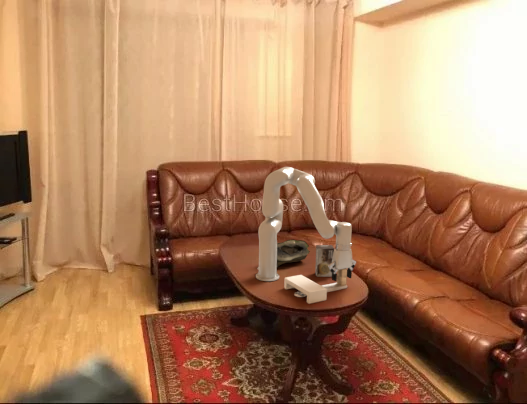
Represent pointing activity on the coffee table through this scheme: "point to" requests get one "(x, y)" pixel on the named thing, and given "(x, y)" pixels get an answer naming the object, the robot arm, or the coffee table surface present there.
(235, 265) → the coffee table surface
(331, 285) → the white-handled mallet
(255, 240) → the coffee table surface
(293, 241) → the hollow geode rock
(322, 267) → the coffee box
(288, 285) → the cream flanged plate
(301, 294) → the token
